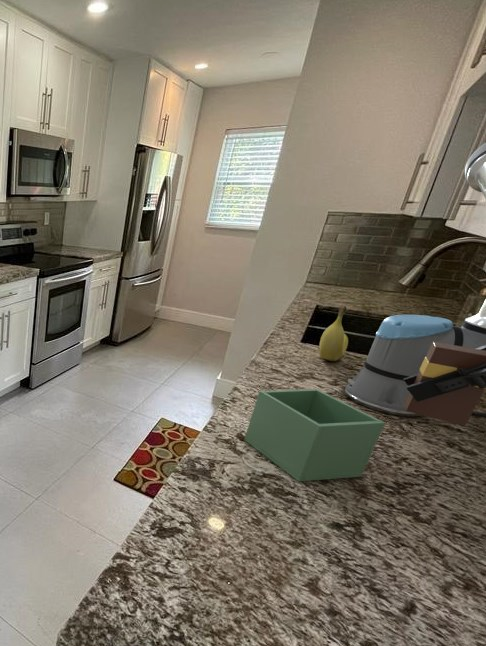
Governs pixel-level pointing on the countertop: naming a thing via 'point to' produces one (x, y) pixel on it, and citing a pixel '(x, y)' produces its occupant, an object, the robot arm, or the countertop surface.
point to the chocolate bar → (453, 403)
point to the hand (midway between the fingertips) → (410, 389)
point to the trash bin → (312, 434)
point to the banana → (334, 339)
